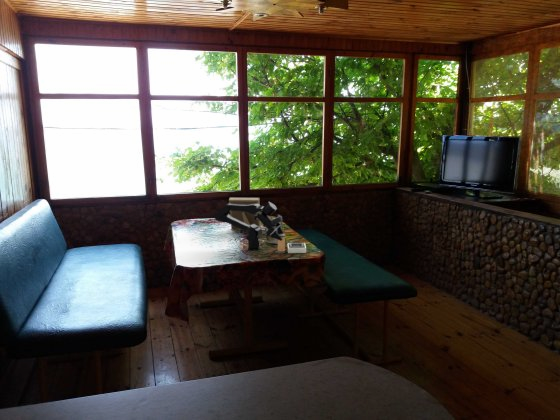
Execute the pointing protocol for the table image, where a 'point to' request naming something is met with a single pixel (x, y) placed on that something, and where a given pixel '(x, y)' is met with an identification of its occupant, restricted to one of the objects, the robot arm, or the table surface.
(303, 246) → the socket box
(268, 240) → the coffee box
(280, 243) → the plug
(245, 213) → the photo frame
